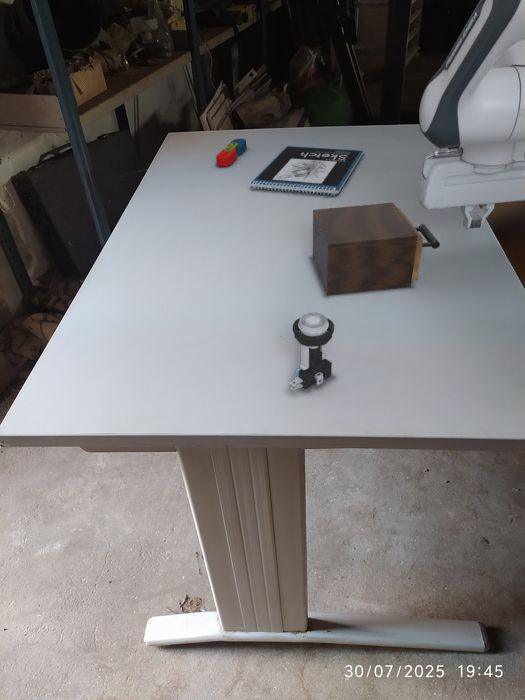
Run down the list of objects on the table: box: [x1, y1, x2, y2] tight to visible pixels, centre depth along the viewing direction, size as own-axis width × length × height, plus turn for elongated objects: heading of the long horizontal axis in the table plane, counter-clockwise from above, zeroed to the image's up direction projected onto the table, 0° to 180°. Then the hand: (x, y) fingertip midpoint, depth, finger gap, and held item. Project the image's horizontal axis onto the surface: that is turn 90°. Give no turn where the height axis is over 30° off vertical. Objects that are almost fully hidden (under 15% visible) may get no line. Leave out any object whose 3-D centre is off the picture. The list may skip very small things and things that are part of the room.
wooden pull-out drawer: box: [397, 207, 441, 281], centre depth 94 cm, size 18×12×8 cm
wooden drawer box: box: [312, 202, 418, 296], centre depth 94 cm, size 15×14×10 cm
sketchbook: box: [250, 145, 364, 197], centre depth 138 cm, size 22×30×2 cm
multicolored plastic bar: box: [215, 138, 248, 167], centre depth 149 cm, size 17×4×3 cm, turn 163°
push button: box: [289, 311, 335, 392], centre depth 71 cm, size 7×5×10 cm
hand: (472, 226), depth 94 cm, fingers closed
